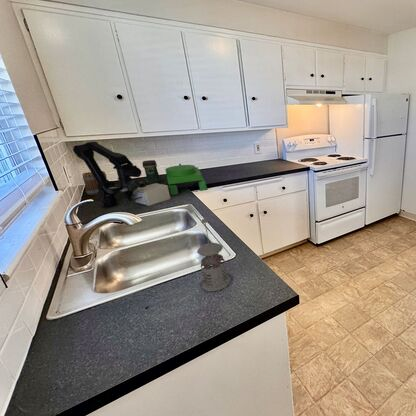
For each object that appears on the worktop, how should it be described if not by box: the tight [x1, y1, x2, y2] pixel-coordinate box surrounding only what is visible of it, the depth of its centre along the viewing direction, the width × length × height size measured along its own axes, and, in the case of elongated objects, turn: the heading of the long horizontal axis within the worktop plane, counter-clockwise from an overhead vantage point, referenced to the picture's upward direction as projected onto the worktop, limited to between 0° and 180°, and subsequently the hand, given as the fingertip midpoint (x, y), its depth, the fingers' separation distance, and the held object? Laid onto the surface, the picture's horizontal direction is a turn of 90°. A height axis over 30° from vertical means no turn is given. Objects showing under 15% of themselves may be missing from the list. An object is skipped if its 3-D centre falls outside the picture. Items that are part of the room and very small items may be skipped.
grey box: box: [135, 183, 171, 207], centre depth 177 cm, size 15×13×10 cm
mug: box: [82, 170, 108, 196], centre depth 196 cm, size 16×11×15 cm
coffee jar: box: [141, 159, 162, 185], centre depth 217 cm, size 10×8×19 cm
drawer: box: [131, 191, 148, 206], centre depth 173 cm, size 18×11×8 cm, turn 152°
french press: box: [196, 218, 232, 292], centre depth 92 cm, size 10×12×25 cm
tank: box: [164, 163, 208, 196], centre depth 206 cm, size 24×35×16 cm
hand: (130, 200), depth 165 cm, fingers closed
